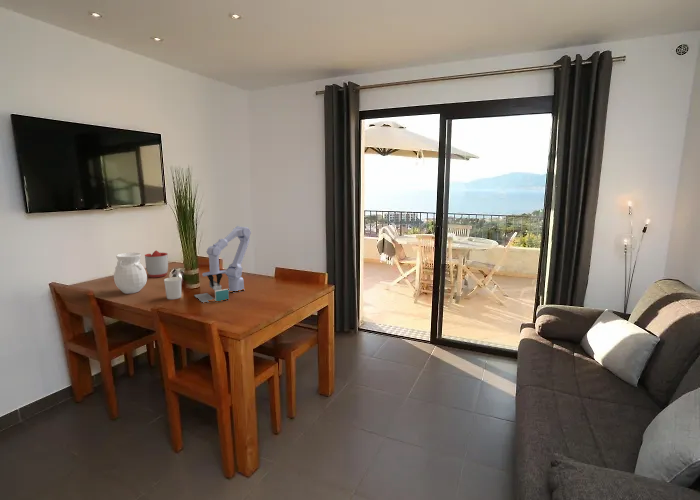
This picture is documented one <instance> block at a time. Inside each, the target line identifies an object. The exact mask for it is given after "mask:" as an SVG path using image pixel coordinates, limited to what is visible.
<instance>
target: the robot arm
mask: <svg viewBox="0 0 700 500" xmlns="http://www.w3.org/2000/svg"><path fill="white" fill-rule="evenodd" d="M251 234H252V231H251V229H250V228H249V227H248V226H238V225H237V226H235V227H234V228H233V229H232V230H231V232H230V233H228V234H227V236H226V237H224V238H219V239H218V241H216V243H213V245H210V246H209V247H208V248H207V249H206V255H208V263H209V271H206V272H202V274H201V275H202V277H207V278H208V280H209V281H210V282H211V286H212V287H214V284H213V281H214V278H215V277H214V276H216V282H217V283H218V284H220V283H221V281H222V278H223V274H225V275H226V276H227V279H228V280H227V281H228V289H229V291H238V290H242V289H244V290H245V284H244V283H245V282H244V278H243V276H242V274H243V267H242V263H243V261H244V257H245V254H246V251H247V249H248V246H249V243H250V236H251ZM236 237H237V238H238V239H239V241H240V242H239V244H238V247H237V250H236V253H235V255H234V257H233V261H232V262H231V263H230V264H229V265H228V267H227V268H226V269H224V270H222V269H221V270H220V254H221V252H222V251H223V250H224V249H225V248H226V247H228V244H229V242H231V241H233V240H234V239H235V238H236ZM220 285H221V284H220Z"/></svg>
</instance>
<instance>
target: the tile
mask: <svg viewBox="0 0 700 500" xmlns="http://www.w3.org/2000/svg"><path fill="white" fill-rule="evenodd" d="M228 289H229V288H224V289H222V290H217V291H215V290H214V299H215V301H221V300H225V299H229V300H230V297H229V296H230V292H229V290H228ZM215 301H214V302H215ZM221 302H222V301H221Z"/></svg>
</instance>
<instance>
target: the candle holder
mask: <svg viewBox="0 0 700 500" xmlns="http://www.w3.org/2000/svg"><path fill="white" fill-rule="evenodd" d="M163 283H164V289H165V296H166V299H167V300H177V299H181V298H182V277H180V276H174V277H172V276H170V277H167V278H164V279H163Z"/></svg>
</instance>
